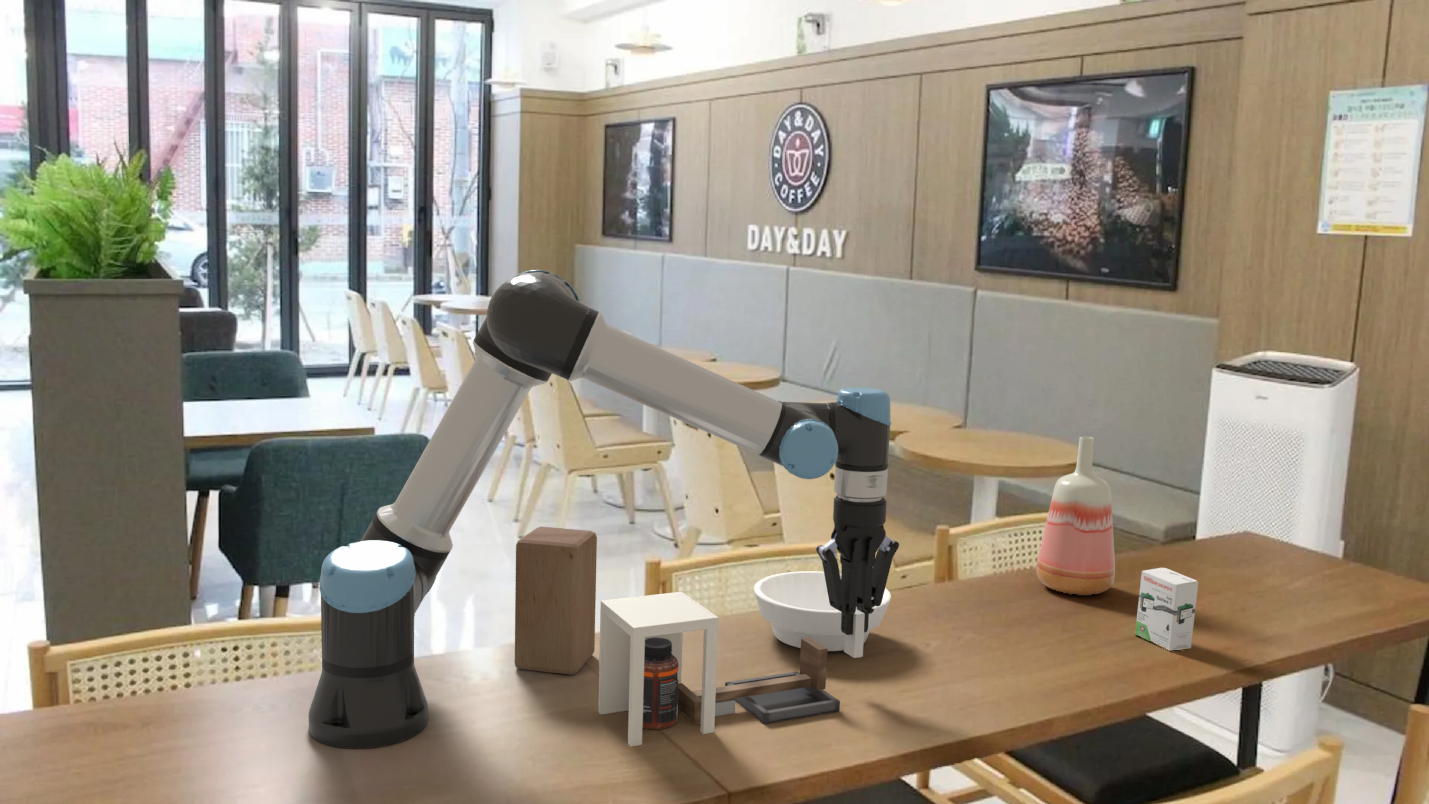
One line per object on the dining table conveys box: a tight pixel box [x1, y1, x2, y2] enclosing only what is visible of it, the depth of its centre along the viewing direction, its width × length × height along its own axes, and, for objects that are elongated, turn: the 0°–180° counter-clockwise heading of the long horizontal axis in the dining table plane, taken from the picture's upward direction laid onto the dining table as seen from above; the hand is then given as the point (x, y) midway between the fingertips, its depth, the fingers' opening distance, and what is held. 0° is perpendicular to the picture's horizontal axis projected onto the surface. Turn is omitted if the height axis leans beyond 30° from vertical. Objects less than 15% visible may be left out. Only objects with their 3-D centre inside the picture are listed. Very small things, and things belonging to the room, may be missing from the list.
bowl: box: [753, 570, 892, 652], centre depth 197 cm, size 22×22×8 cm
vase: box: [1035, 435, 1116, 596], centre depth 228 cm, size 14×14×30 cm
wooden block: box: [514, 526, 598, 676], centre depth 181 cm, size 10×10×20 cm
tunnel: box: [597, 591, 736, 748], centre depth 162 cm, size 18×12×16 cm
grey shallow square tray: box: [724, 671, 841, 725], centre depth 170 cm, size 12×12×2 cm
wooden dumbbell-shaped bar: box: [678, 637, 828, 725], centre depth 168 cm, size 21×7×8 cm, turn 116°
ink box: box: [1134, 567, 1199, 651], centre depth 201 cm, size 9×5×12 cm, turn 23°
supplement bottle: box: [642, 638, 679, 730], centre depth 161 cm, size 6×6×11 cm
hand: (853, 654), depth 175 cm, fingers closed
